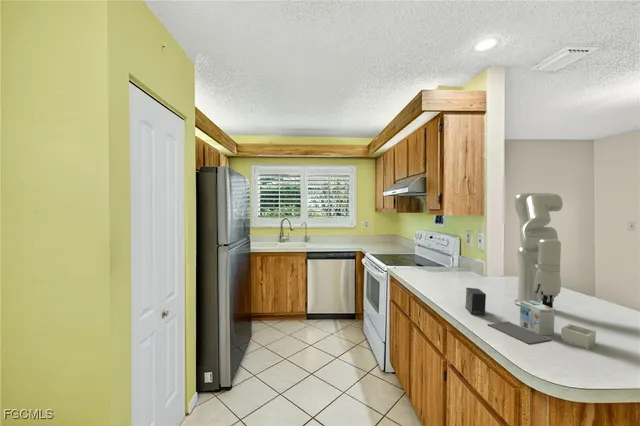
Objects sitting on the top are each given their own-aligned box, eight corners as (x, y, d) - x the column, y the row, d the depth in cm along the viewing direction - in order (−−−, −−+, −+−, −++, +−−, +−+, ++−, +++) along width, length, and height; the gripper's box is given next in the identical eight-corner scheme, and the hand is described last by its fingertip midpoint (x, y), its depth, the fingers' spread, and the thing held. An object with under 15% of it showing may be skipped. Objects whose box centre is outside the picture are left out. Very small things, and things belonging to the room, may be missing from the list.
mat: (508, 322, 129) (508, 321, 129) (551, 340, 112) (551, 339, 112) (487, 325, 126) (487, 324, 126) (528, 344, 109) (528, 343, 109)
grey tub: (568, 336, 116) (569, 323, 116) (595, 344, 110) (595, 331, 110) (561, 340, 112) (561, 328, 112) (588, 349, 105) (588, 336, 105)
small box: (486, 316, 137) (486, 294, 136) (471, 314, 138) (472, 293, 138) (478, 308, 147) (479, 288, 147) (464, 307, 148) (465, 287, 148)
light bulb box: (518, 324, 127) (519, 300, 127) (533, 324, 128) (534, 300, 127) (539, 335, 116) (540, 309, 116) (554, 335, 117) (555, 309, 117)
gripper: (551, 265, 129) (550, 306, 130) (527, 267, 125) (525, 309, 125) (570, 269, 122) (568, 311, 122) (545, 270, 117) (544, 315, 118)
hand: (547, 310), depth 124 cm, fingers closed
